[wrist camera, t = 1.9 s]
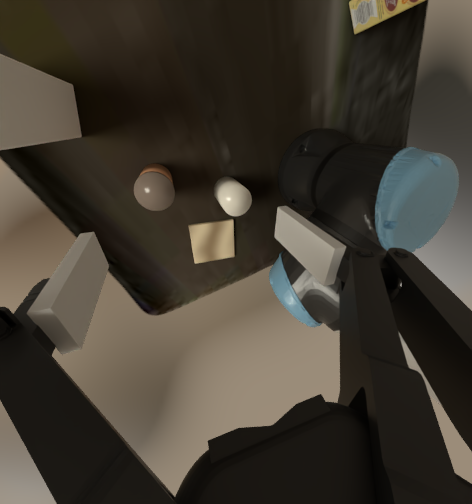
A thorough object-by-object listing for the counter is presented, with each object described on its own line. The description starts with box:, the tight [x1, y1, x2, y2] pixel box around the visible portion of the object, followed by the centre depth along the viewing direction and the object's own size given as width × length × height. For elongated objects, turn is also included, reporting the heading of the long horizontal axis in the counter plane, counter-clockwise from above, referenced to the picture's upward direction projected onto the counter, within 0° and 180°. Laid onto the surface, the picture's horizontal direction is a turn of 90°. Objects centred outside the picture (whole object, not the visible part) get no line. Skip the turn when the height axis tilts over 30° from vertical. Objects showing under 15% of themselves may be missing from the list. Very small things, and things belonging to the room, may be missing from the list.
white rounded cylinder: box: [214, 176, 252, 216], centre depth 36 cm, size 5×5×7 cm
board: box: [189, 219, 234, 264], centre depth 43 cm, size 9×9×1 cm
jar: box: [134, 163, 175, 211], centre depth 31 cm, size 5×5×8 cm
